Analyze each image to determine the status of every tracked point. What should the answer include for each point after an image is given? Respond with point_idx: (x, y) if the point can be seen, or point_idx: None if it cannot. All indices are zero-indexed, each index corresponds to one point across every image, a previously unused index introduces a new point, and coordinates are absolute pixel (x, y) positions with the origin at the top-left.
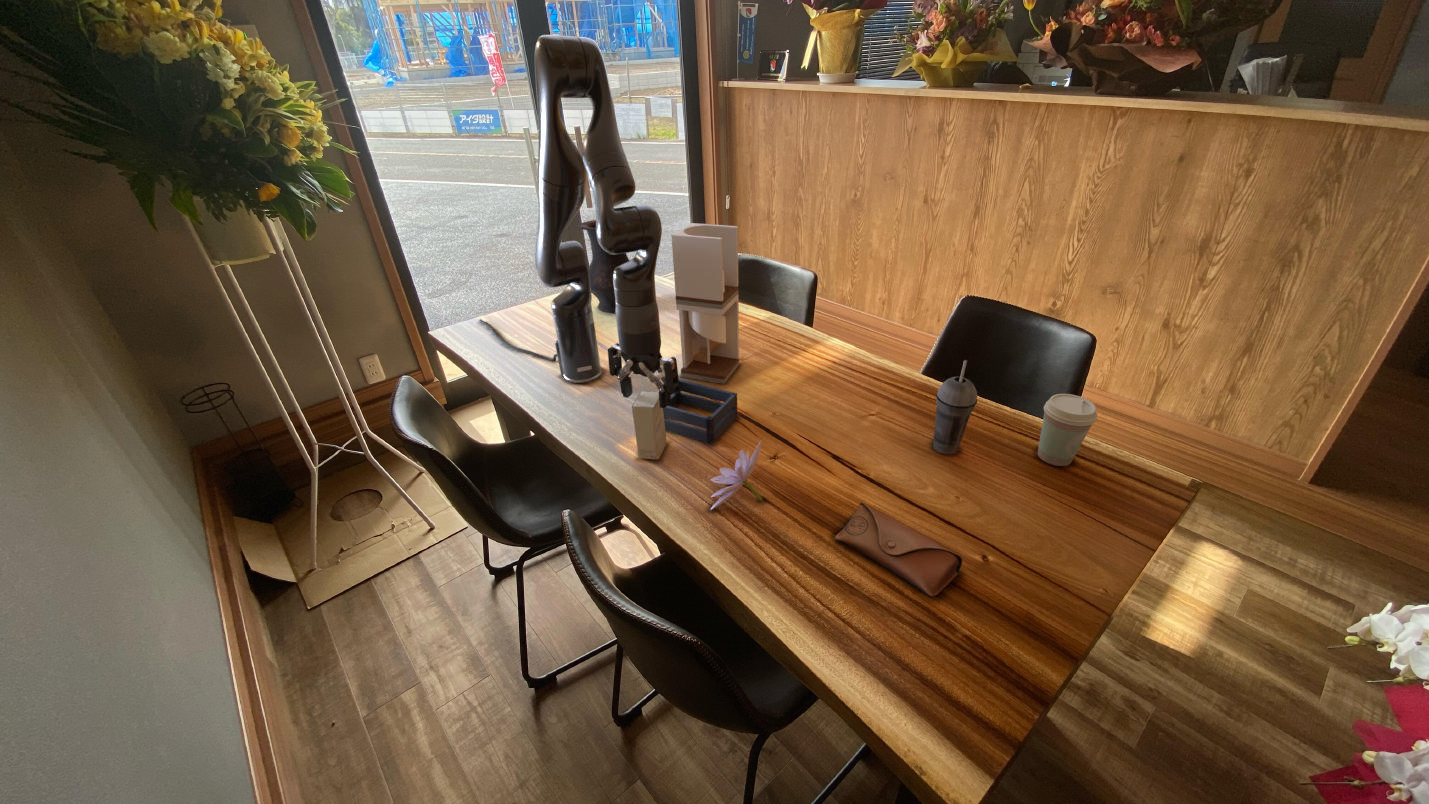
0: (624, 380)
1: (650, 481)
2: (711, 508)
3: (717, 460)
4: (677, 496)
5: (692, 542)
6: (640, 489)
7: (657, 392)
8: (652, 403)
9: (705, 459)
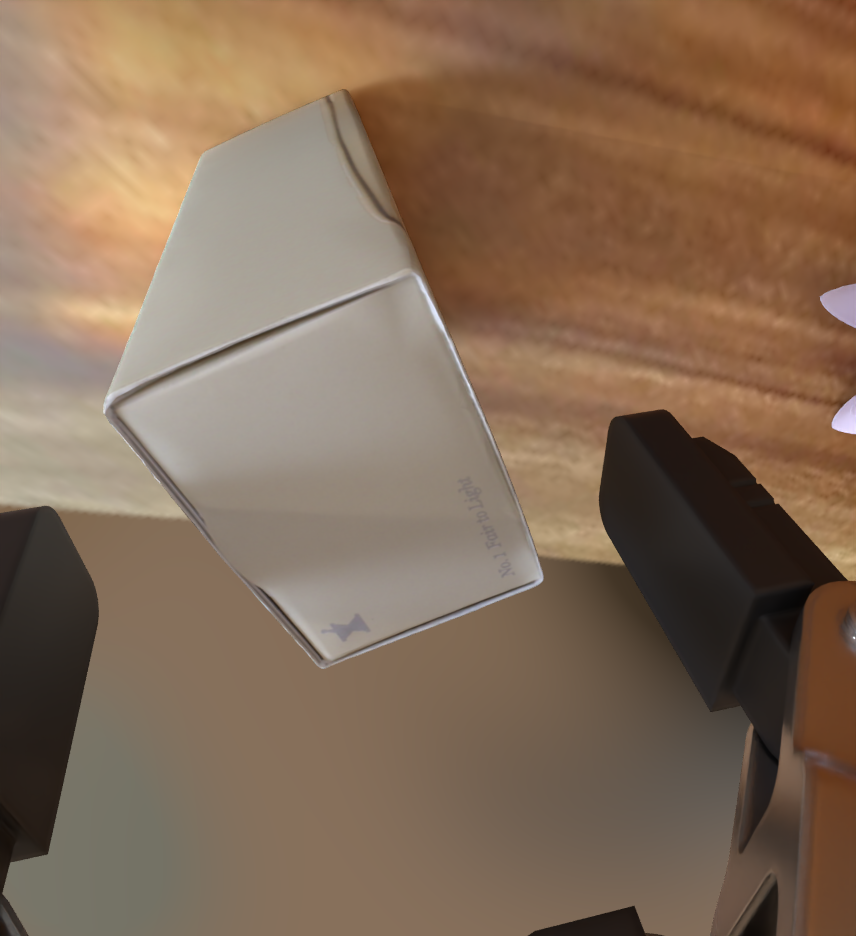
0: (9, 855)
1: (495, 439)
2: (836, 418)
3: (789, 61)
4: None
5: None
6: None
7: (364, 307)
8: (490, 534)
9: (705, 101)
